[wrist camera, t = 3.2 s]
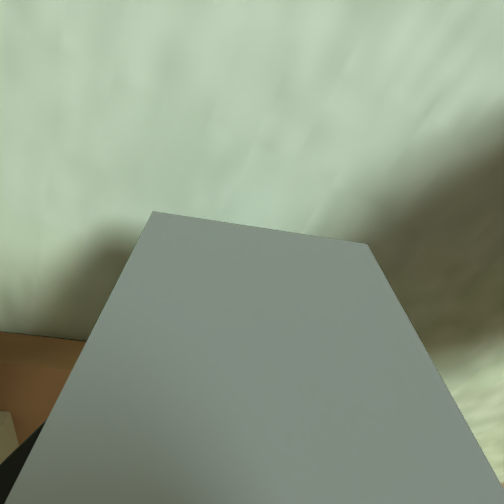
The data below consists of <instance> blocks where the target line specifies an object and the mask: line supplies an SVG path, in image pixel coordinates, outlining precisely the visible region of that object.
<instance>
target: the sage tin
mask: <svg viewBox="0 0 504 504" xmlns="http://www.w3.org/2000/svg"><path fill="white" fill-rule="evenodd" d="M18 446H19V444H18V440H17V436H16V432H15V428H14V424H13V420H12V416H11V412H6V411H0V464H1V463H2V462H3V461H4V460H5V459H6V458H7V457H8V456H9V455H10V454H11V453H12V452H13V451H14V450H15V449H16V448H17V447H18Z"/></svg>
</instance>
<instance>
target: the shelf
mask: <svg viewBox="0 0 504 504" xmlns="http://www.w3.org/2000/svg"><path fill="white" fill-rule="evenodd" d="M85 344H86V342H85V341H76V340H68V339H59V338H50V337H41V336H33V335H24V334H15V333H6V332H0V411H6V412H11V416H12V420H13V424H14V428H15V432H16V436H17V440H18V444H19V445H20V444H22V443H23V442H24V441H25V440H26V439H27V438H28V437H29V436H30V435H31V434H32V433H33V432H34V431H35V430H36V429H37V428H38V427H39V426H40V425H41V424H42V423H43V422H44V421H45V420H46V419H47V418H48V417H49V415H50V413H51V411H52V409H53V407H54V405H55V403H56V401H57V399H58V397H59V395H60V393H61V391H62V389H63V387H64V385H65V383H66V381H67V379H68V377H69V375H70V373H71V371H72V369H73V367H74V365H75V363H76V362H77V360H78V358H79V356H80V354H81V352H82V350H83V348H84V346H85Z"/></svg>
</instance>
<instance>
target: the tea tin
mask: <svg viewBox="0 0 504 504" xmlns="http://www.w3.org/2000/svg"><path fill="white" fill-rule="evenodd" d="M4 504H504V489H503V487H502V485H501V483H500V481H499V480H498V478H497V476H496V474H495V472H494V471H493V469H492V467H491V465H490V464H489V462H488V460H487V458H486V456H485V455H484V453H483V451H482V449H481V447H480V446H479V444H478V442H477V440H476V438H475V437H474V435H473V433H472V431H471V429H470V428H469V426H468V424H467V422H466V420H465V419H464V417H463V415H462V413H461V412H460V410H459V408H458V406H457V404H456V403H455V401H454V399H453V397H452V395H451V394H450V392H449V390H448V388H447V386H446V385H445V383H444V381H443V379H442V377H441V376H440V374H439V372H438V370H437V368H436V367H435V365H434V363H433V361H432V360H431V358H430V356H429V354H428V352H427V351H426V349H425V347H424V345H423V343H422V342H421V340H420V338H419V336H418V334H417V333H416V331H415V329H414V327H413V325H412V324H411V322H410V320H409V318H408V316H407V315H406V313H405V311H404V309H403V308H402V306H401V304H400V302H399V300H398V299H397V297H396V295H395V293H394V291H393V290H392V288H391V286H390V284H389V282H388V281H387V279H386V277H385V275H384V273H383V272H382V270H381V268H380V266H379V264H378V263H377V261H376V259H375V257H374V255H373V254H372V252H371V250H370V248H369V247H368V245H367V244H365V243H358V242H352V241H345V240H339V239H332V238H325V237H319V236H312V235H306V234H299V233H292V232H286V231H279V230H273V229H266V228H259V227H253V226H246V225H240V224H233V223H227V222H220V221H213V220H207V219H200V218H194V217H187V216H180V215H174V214H167V213H161V212H154V211H153V212H152V214H151V216H150V218H149V220H148V222H147V224H146V226H145V228H144V230H143V231H142V233H141V235H140V237H139V239H138V241H137V243H136V245H135V247H134V249H133V251H132V253H131V255H130V257H129V259H128V261H127V263H126V265H125V267H124V269H123V271H122V273H121V275H120V277H119V279H118V281H117V283H116V285H115V287H114V289H113V291H112V293H111V295H110V297H109V298H108V300H107V302H106V304H105V306H104V308H103V310H102V312H101V314H100V316H99V318H98V320H97V322H96V324H95V326H94V328H93V330H92V332H91V334H90V336H89V338H88V340H87V342H86V344H85V346H84V348H83V350H82V352H81V354H80V356H79V358H78V360H77V362H76V363H75V365H74V367H73V369H72V371H71V373H70V375H69V377H68V379H67V381H66V383H65V385H64V387H63V389H62V391H61V393H60V395H59V397H58V399H57V401H56V403H55V405H54V407H53V409H52V411H51V413H50V415H49V417H48V419H47V421H46V423H45V425H44V427H43V429H42V430H41V432H40V434H39V436H38V438H37V440H36V442H35V444H34V446H33V448H32V450H31V452H30V454H29V456H28V458H27V460H26V462H25V464H24V466H23V468H22V470H21V472H20V474H19V476H18V478H17V480H16V482H15V484H14V486H13V488H12V490H11V492H10V494H9V495H8V497H7V499H6V501H5V503H4Z"/></svg>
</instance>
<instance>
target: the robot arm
mask: <svg viewBox="0 0 504 504" xmlns="http://www.w3.org/2000/svg"><path fill="white" fill-rule="evenodd" d="M47 419H48V418H47ZM47 419H46V420H45V421H44V422H43V423H42V424H41V425H40V426H39V427H38V428H37V429H36V430H35V431H34V432H33V433H32V434H31V435H30V436H29V437H28V438H27V439H26V440H25V441H24V442H23V443H22V444H20V445H19V446H18V447H17V448H16V449H15V450H14V451H13V452H12V453H11V454H10V455H9V456H8V457H7V458H6V459H5V460H4V461H3V462H2V463H1V464H0V504H4V503H5V501H6V499H7V497H8V495H9V494H10V492H11V490H12V488H13V486H14V484H15V482H16V480H17V478H18V476H19V474H20V472H21V470H22V468H23V466H24V464H25V462H26V460H27V458H28V456H29V454H30V452H31V450H32V448H33V446H34V444H35V442H36V440H37V438H38V436H39V434H40V432H41V430H42V429H43V427H44V425H45V423H46V421H47Z"/></svg>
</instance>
